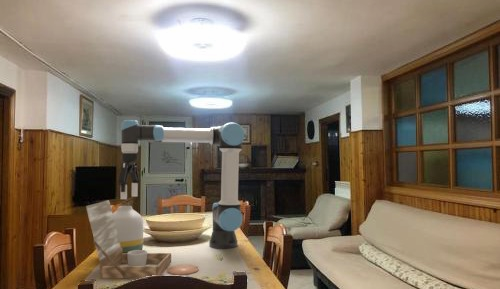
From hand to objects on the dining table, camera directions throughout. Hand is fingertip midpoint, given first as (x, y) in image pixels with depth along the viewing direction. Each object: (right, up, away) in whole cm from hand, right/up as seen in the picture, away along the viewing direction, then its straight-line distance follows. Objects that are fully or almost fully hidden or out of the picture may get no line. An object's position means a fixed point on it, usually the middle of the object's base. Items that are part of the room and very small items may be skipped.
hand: (129, 197), depth 179 cm
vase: (-3, -29, +3) cm, 29 cm away
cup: (+10, -28, -20) cm, 36 cm away
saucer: (+29, -28, -20) cm, 45 cm away
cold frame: (+7, -28, -20) cm, 35 cm away
